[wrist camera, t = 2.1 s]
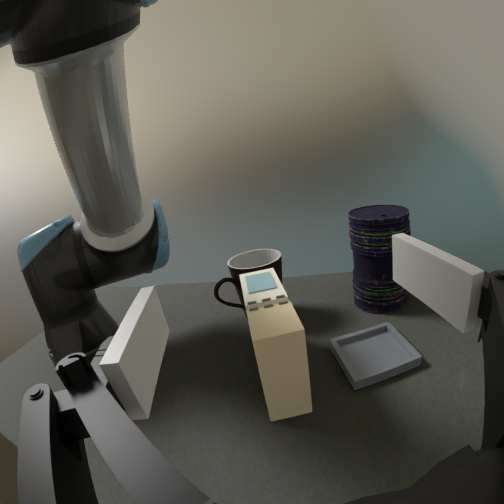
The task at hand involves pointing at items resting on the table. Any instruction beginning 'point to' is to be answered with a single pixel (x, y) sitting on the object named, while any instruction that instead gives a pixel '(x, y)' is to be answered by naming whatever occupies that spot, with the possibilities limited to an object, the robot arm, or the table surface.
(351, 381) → the tray
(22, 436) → the robot arm
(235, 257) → the coffee mug
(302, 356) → the cream rectangular block
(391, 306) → the storage jar
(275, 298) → the cream box with panel
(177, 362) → the table surface
